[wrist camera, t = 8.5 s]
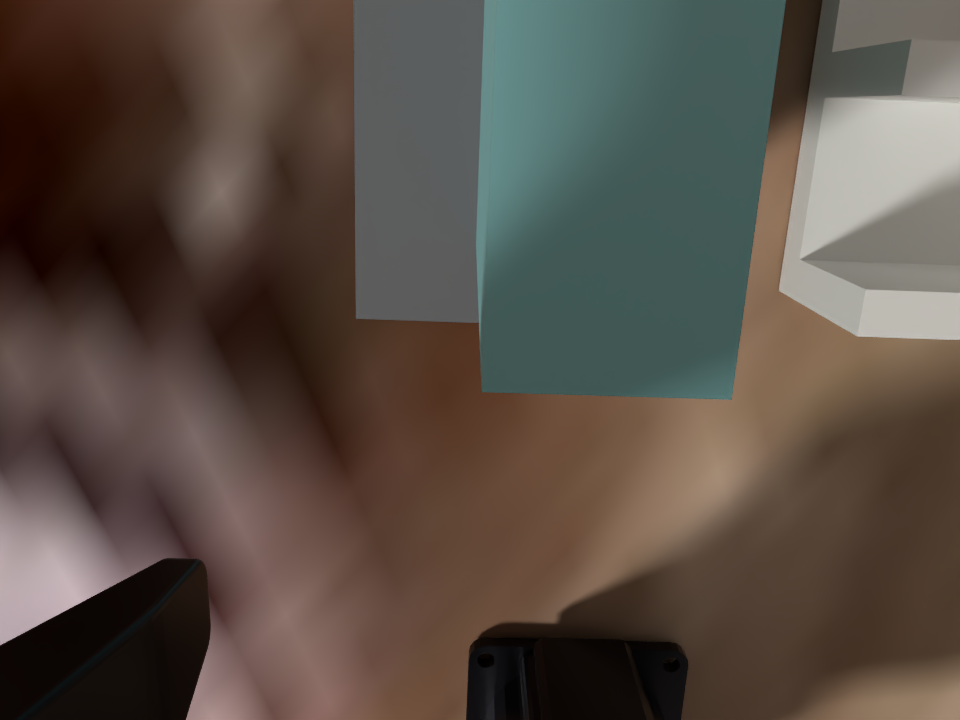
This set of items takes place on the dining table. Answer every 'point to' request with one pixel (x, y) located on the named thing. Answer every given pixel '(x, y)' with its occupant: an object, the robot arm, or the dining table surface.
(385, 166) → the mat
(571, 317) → the teal flat block
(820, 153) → the rack
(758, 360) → the dining table surface
